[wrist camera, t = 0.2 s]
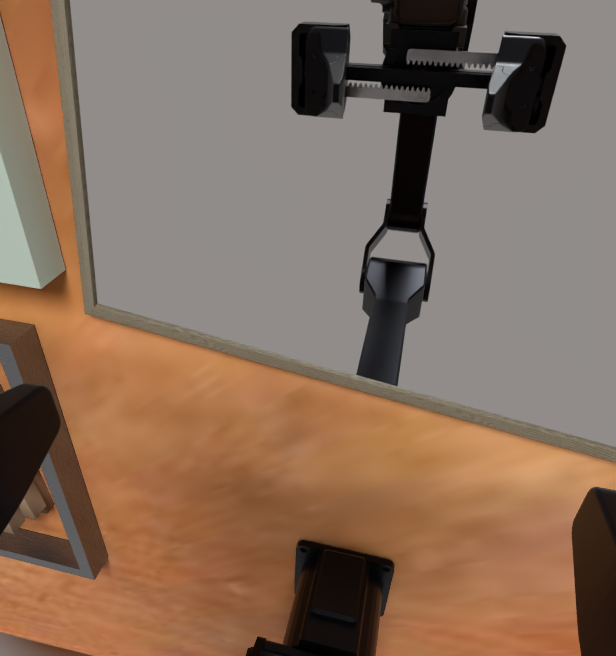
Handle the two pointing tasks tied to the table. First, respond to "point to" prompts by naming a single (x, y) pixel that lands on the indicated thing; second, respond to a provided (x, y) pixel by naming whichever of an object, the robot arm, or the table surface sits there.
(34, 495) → the offcut stack
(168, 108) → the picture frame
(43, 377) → the offcut tray
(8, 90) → the green board
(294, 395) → the table surface
